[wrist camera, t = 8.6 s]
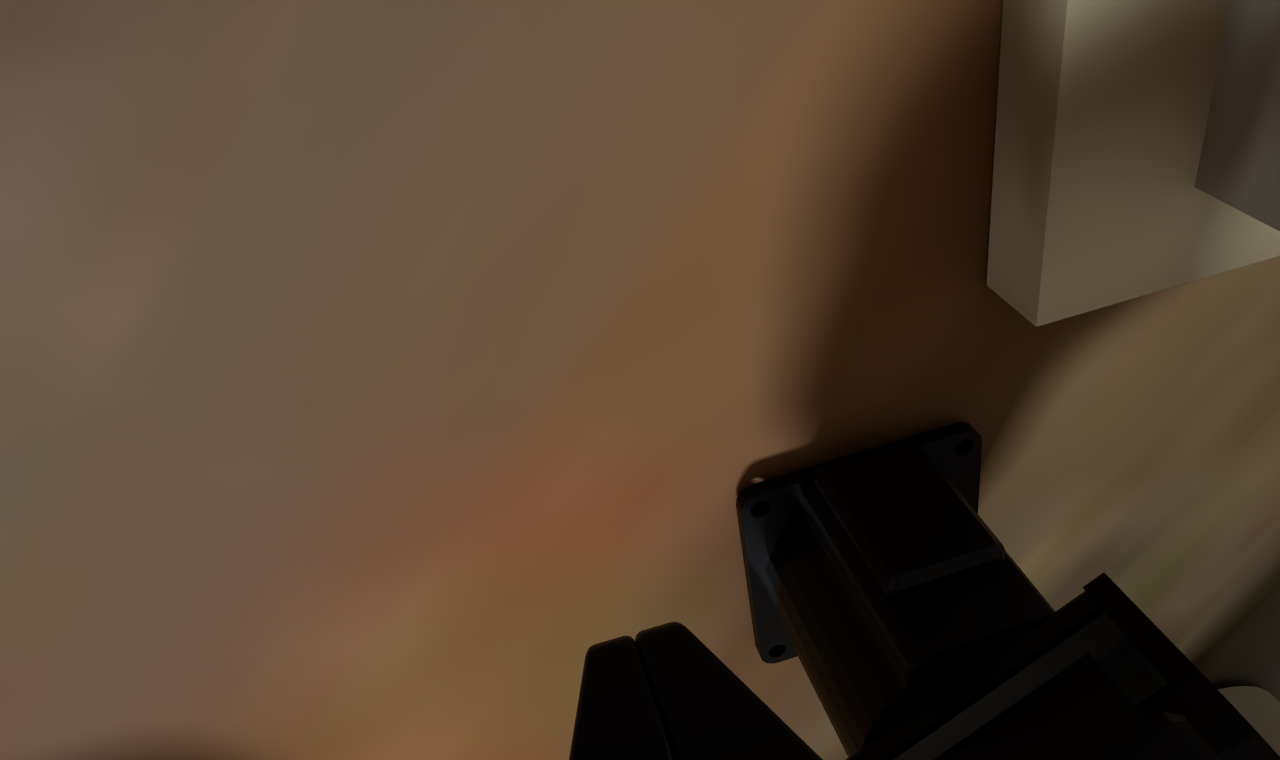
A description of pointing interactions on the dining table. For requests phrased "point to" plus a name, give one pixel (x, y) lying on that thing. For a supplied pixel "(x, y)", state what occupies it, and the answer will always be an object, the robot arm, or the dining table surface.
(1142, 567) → the dining table surface
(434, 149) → the dining table surface
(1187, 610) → the dining table surface
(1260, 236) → the control panel
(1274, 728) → the travel mug
